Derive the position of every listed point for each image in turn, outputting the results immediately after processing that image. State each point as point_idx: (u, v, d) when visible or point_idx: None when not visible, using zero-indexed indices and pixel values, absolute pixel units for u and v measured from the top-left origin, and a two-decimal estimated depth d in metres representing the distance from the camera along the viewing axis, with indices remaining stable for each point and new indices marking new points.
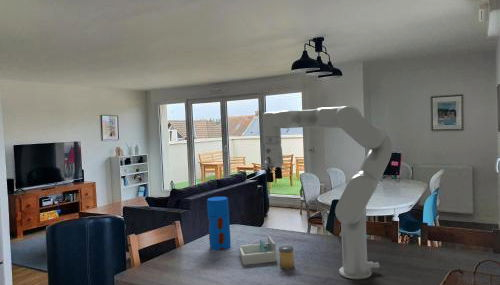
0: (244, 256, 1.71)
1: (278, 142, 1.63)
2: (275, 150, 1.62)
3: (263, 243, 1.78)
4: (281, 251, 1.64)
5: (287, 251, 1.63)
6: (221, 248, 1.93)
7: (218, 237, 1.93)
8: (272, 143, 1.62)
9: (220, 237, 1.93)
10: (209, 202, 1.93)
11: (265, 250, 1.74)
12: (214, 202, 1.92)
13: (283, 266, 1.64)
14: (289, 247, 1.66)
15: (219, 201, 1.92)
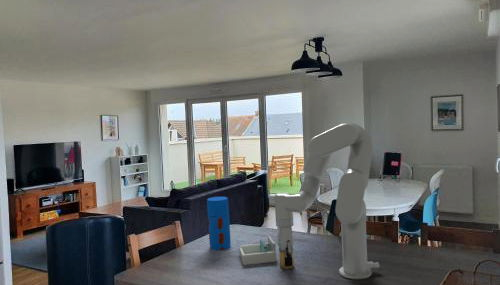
0: (244, 256, 1.71)
1: None
2: (277, 230, 1.69)
3: (263, 243, 1.78)
4: (281, 251, 1.64)
5: (287, 251, 1.63)
6: (221, 248, 1.93)
7: (218, 237, 1.93)
8: None
9: (220, 237, 1.93)
10: (209, 202, 1.93)
11: (265, 250, 1.74)
12: (214, 202, 1.92)
13: (283, 266, 1.64)
14: None
15: (219, 201, 1.92)
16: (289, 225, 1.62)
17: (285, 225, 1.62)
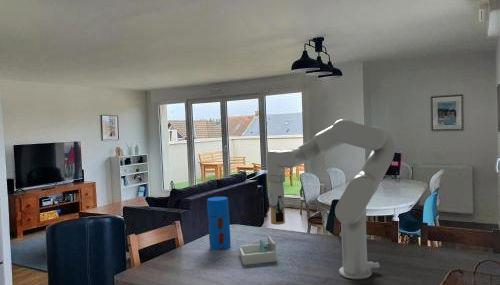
0: (244, 256, 1.71)
1: None
2: (269, 187, 1.70)
3: (263, 243, 1.78)
4: (272, 207, 1.65)
5: None
6: (221, 248, 1.93)
7: (218, 237, 1.93)
8: None
9: (220, 237, 1.93)
10: (209, 202, 1.93)
11: (265, 250, 1.74)
12: (214, 202, 1.92)
13: (274, 222, 1.65)
14: None
15: (219, 201, 1.92)
16: (281, 181, 1.64)
17: (277, 181, 1.63)
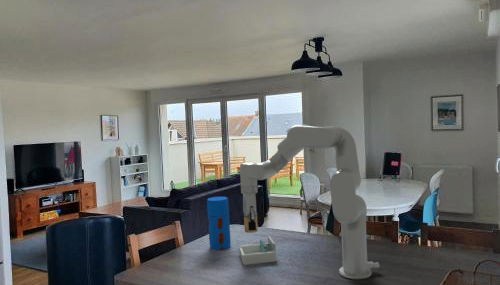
0: (244, 256, 1.71)
1: None
2: None
3: (263, 243, 1.78)
4: (245, 216, 1.76)
5: None
6: (221, 248, 1.93)
7: (218, 237, 1.93)
8: None
9: (220, 237, 1.93)
10: (209, 202, 1.93)
11: (265, 250, 1.74)
12: (214, 202, 1.92)
13: (247, 230, 1.76)
14: None
15: (219, 201, 1.92)
16: (253, 192, 1.74)
17: (249, 192, 1.73)
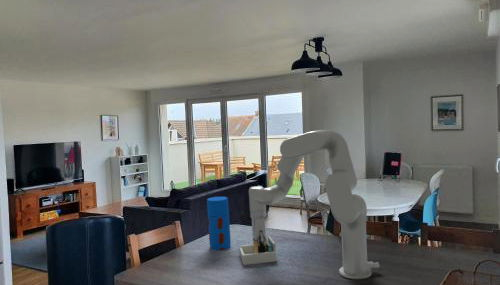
0: (244, 256, 1.71)
1: None
2: None
3: (267, 243, 1.78)
4: (254, 240, 1.76)
5: (260, 240, 1.75)
6: (221, 248, 1.93)
7: (218, 237, 1.93)
8: None
9: (220, 237, 1.93)
10: (209, 202, 1.93)
11: (269, 250, 1.74)
12: (214, 202, 1.92)
13: None
14: None
15: (219, 201, 1.92)
16: (262, 216, 1.75)
17: (258, 216, 1.74)
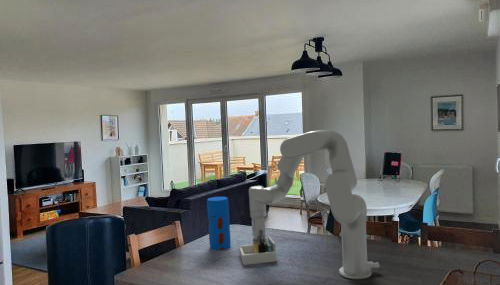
0: (244, 256, 1.71)
1: None
2: None
3: (267, 243, 1.78)
4: (254, 242, 1.77)
5: None
6: (221, 248, 1.93)
7: (218, 237, 1.93)
8: None
9: (220, 237, 1.93)
10: (209, 202, 1.93)
11: (269, 250, 1.74)
12: (214, 202, 1.92)
13: None
14: None
15: (219, 201, 1.92)
16: (262, 216, 1.75)
17: (258, 216, 1.74)
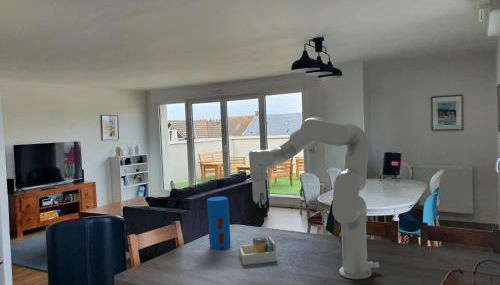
0: (244, 256, 1.71)
1: None
2: None
3: (267, 243, 1.78)
4: (254, 242, 1.77)
5: (260, 242, 1.76)
6: (221, 248, 1.93)
7: (218, 237, 1.93)
8: None
9: (220, 237, 1.93)
10: (209, 202, 1.93)
11: (269, 250, 1.74)
12: (214, 202, 1.92)
13: None
14: (262, 238, 1.79)
15: (219, 201, 1.92)
16: (262, 179, 1.73)
17: (258, 179, 1.72)
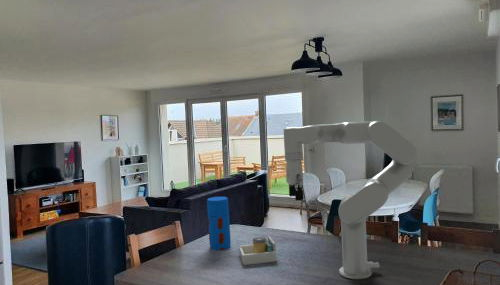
0: (244, 256, 1.71)
1: None
2: (286, 166, 1.62)
3: (267, 243, 1.78)
4: (254, 242, 1.77)
5: (260, 242, 1.76)
6: (221, 248, 1.93)
7: (218, 237, 1.93)
8: None
9: (220, 237, 1.93)
10: (209, 202, 1.93)
11: (269, 250, 1.74)
12: (214, 202, 1.92)
13: None
14: (262, 238, 1.79)
15: (219, 201, 1.92)
16: (299, 159, 1.56)
17: (295, 159, 1.55)
